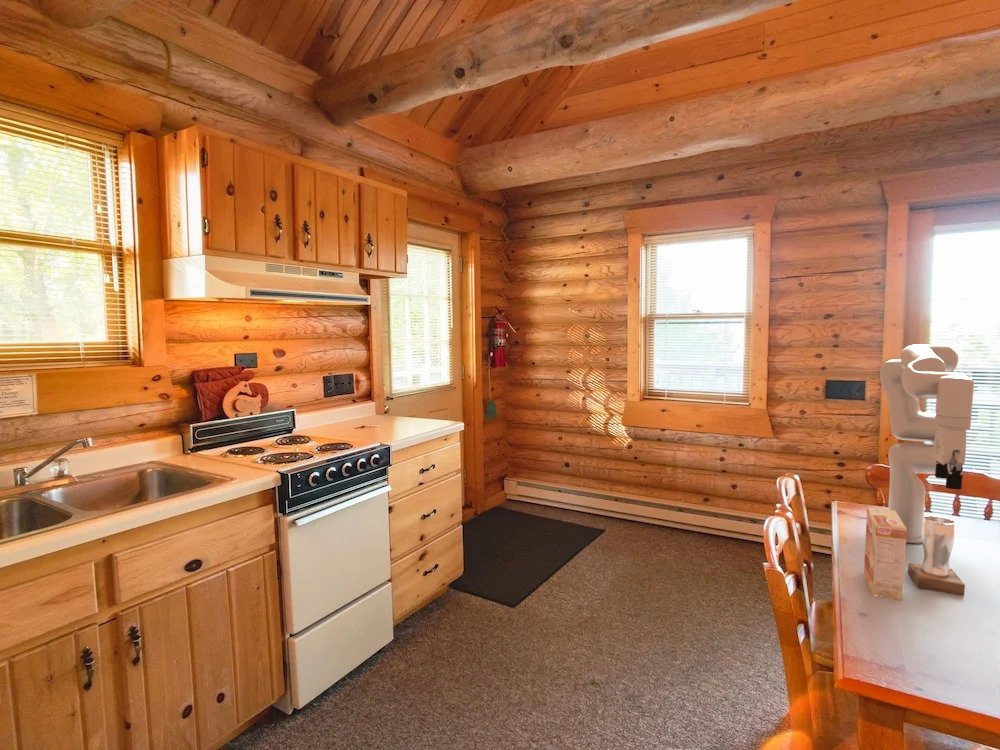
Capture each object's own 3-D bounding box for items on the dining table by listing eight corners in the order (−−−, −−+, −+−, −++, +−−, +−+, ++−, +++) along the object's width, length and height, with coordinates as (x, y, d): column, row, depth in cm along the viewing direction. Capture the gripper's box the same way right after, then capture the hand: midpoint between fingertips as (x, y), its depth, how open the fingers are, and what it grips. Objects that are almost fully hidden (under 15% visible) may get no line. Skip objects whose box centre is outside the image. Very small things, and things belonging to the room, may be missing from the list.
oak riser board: (907, 573, 159) (908, 562, 159) (951, 579, 155) (951, 568, 155) (918, 588, 150) (918, 577, 150) (964, 595, 146) (965, 584, 146)
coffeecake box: (862, 571, 161) (866, 506, 159) (892, 576, 158) (896, 510, 155) (870, 595, 147) (874, 524, 145) (903, 601, 144) (908, 528, 142)
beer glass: (957, 579, 149) (961, 525, 147) (928, 577, 150) (931, 523, 149) (942, 567, 156) (946, 515, 154) (914, 565, 157) (917, 514, 155)
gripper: (926, 415, 159) (922, 473, 161) (945, 427, 143) (940, 491, 146) (959, 416, 156) (954, 475, 158) (981, 429, 140) (976, 494, 142)
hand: (947, 483), depth 152 cm, fingers open, 9 cm apart
